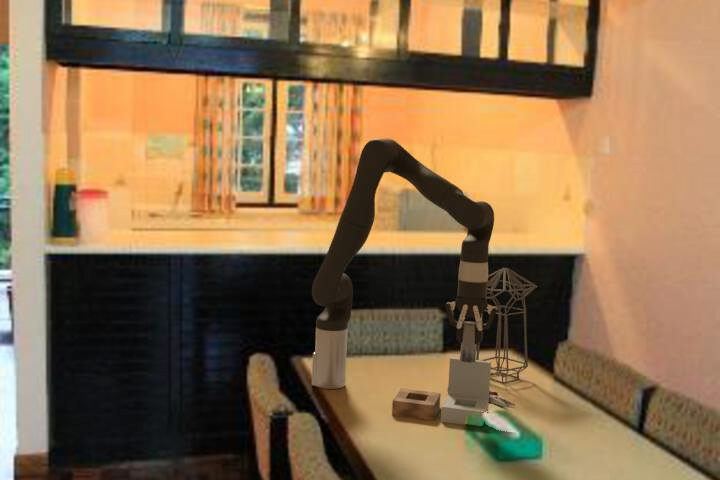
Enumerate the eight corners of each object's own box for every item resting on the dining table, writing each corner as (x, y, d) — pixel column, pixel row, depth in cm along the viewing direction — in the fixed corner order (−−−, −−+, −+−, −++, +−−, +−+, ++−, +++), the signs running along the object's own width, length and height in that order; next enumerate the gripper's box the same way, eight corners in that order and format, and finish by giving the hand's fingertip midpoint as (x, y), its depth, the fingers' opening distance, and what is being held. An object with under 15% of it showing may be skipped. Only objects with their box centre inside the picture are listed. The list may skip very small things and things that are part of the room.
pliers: (497, 413, 209) (498, 404, 209) (445, 393, 225) (445, 385, 224) (524, 406, 216) (525, 397, 216) (472, 387, 232) (472, 379, 231)
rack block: (440, 421, 200) (443, 369, 198) (447, 406, 212) (450, 357, 210) (483, 427, 197) (486, 374, 195) (487, 411, 209) (491, 361, 207)
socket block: (391, 415, 203) (392, 400, 202) (400, 402, 213) (401, 388, 213) (433, 420, 200) (433, 405, 200) (439, 407, 211) (440, 393, 210)
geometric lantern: (503, 388, 230) (508, 273, 227) (465, 376, 242) (469, 266, 239) (537, 380, 240) (542, 269, 236) (498, 368, 252) (502, 263, 249)
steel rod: (459, 361, 200) (461, 323, 199) (461, 357, 204) (463, 320, 203) (474, 363, 199) (476, 325, 198) (476, 359, 203) (478, 322, 202)
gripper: (443, 278, 197) (439, 343, 199) (499, 283, 194) (495, 349, 196) (447, 274, 205) (444, 337, 207) (501, 278, 201) (497, 342, 203)
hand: (469, 342), depth 201 cm, fingers closed on steel rod, 4 cm apart
